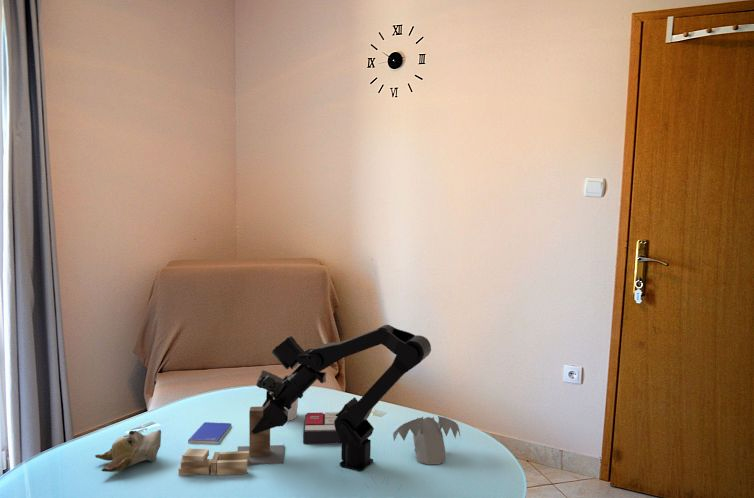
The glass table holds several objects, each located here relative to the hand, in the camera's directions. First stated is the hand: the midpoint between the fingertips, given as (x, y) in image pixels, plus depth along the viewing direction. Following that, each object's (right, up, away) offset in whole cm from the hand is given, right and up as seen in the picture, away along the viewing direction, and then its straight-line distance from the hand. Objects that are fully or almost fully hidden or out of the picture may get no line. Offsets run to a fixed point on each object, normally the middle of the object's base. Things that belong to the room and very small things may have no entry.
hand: (254, 425), depth 152 cm
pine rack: (-4, -8, -7) cm, 11 cm away
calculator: (+16, -7, +16) cm, 24 cm away
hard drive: (-15, -7, +14) cm, 22 cm away
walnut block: (+1, -7, +1) cm, 8 cm away
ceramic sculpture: (-29, -8, -5) cm, 31 cm away
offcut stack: (-13, -8, -8) cm, 17 cm away
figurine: (+45, -9, +3) cm, 46 cm away
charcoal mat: (+1, -8, +1) cm, 8 cm away
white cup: (+4, -6, +28) cm, 28 cm away
